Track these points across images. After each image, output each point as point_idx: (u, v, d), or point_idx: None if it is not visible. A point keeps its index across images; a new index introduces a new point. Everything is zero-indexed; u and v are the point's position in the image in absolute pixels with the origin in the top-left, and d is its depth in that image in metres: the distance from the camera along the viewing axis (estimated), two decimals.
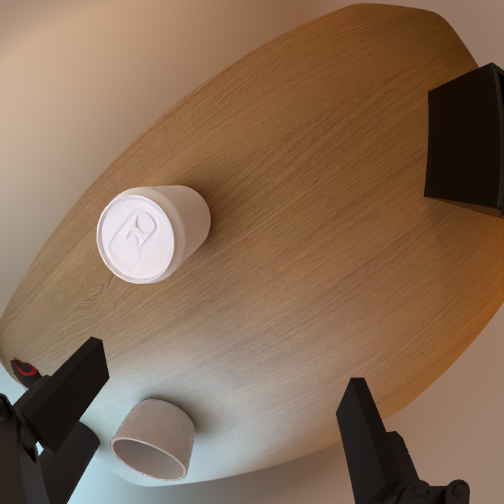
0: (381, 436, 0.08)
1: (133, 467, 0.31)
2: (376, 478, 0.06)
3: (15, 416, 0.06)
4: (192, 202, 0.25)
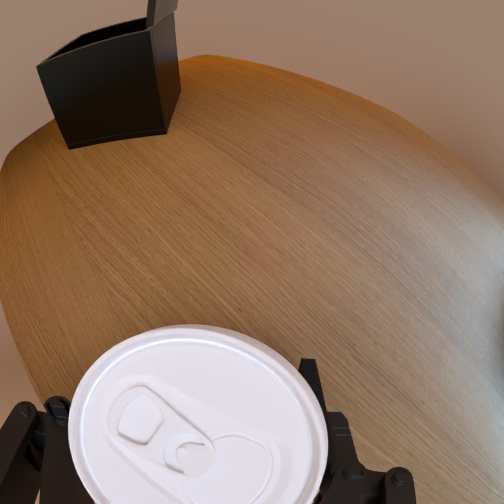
0: None
1: None
2: None
3: None
4: None
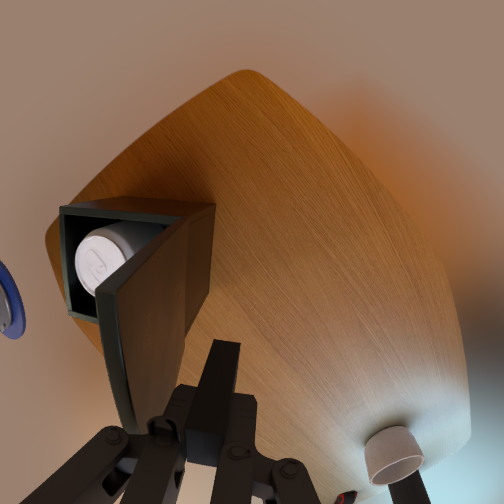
0: (224, 391, 0.11)
1: (407, 474, 0.37)
2: None
3: (179, 443, 0.08)
4: None
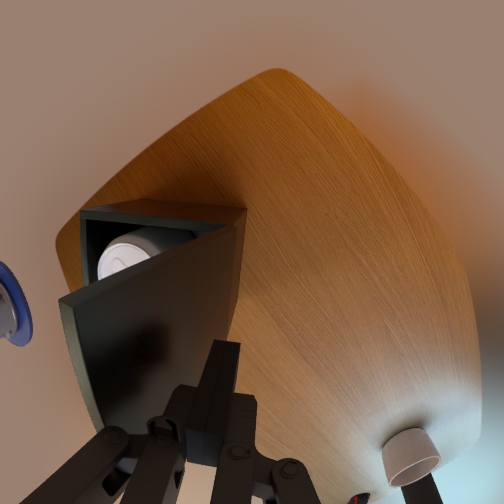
0: (224, 391, 0.11)
1: (423, 475, 0.35)
2: None
3: (179, 443, 0.08)
4: None
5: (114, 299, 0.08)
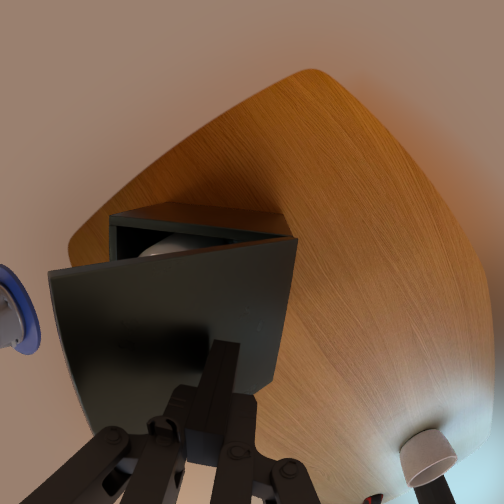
0: (224, 391, 0.11)
1: (439, 474, 0.34)
2: None
3: (179, 443, 0.08)
4: None
5: (96, 282, 0.09)
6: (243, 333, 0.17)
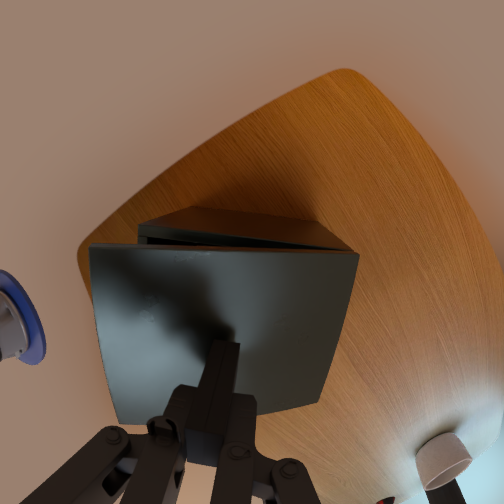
0: (224, 391, 0.11)
1: (453, 477, 0.31)
2: None
3: (179, 443, 0.08)
4: None
5: (123, 257, 0.12)
6: (279, 341, 0.16)
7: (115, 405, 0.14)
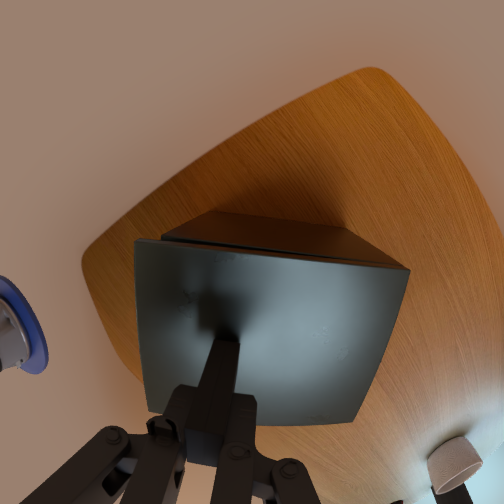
0: (224, 391, 0.11)
1: (464, 480, 0.29)
2: None
3: (179, 443, 0.08)
4: None
5: (165, 253, 0.14)
6: (317, 353, 0.15)
7: (147, 393, 0.16)
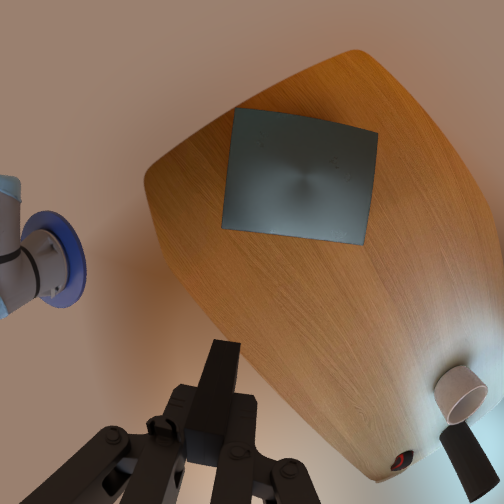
0: (224, 391, 0.11)
1: (472, 412, 0.40)
2: None
3: (179, 443, 0.08)
4: None
5: (252, 113, 0.25)
6: (332, 174, 0.27)
7: (225, 208, 0.28)
